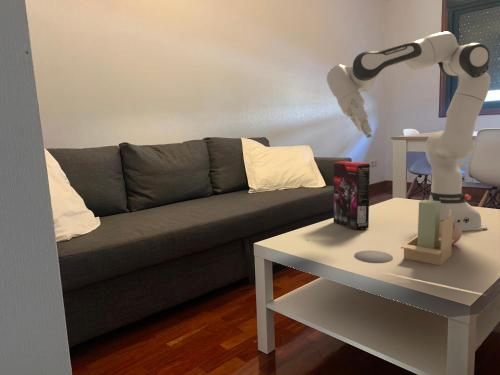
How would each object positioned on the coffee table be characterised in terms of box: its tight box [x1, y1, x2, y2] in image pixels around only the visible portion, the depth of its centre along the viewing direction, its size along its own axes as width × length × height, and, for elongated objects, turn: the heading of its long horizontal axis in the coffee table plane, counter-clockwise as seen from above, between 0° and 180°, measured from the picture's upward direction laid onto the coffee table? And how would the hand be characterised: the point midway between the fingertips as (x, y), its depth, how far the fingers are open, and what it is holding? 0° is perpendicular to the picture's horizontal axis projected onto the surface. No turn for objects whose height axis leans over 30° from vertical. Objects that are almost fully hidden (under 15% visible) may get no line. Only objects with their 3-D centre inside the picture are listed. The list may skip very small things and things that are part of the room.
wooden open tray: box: [400, 214, 454, 266], centre depth 126 cm, size 11×17×14 cm, turn 139°
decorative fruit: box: [439, 220, 463, 245], centre depth 138 cm, size 9×8×10 cm
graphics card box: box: [333, 160, 371, 231], centre depth 168 cm, size 17×7×27 cm, turn 23°
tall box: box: [417, 199, 441, 250], centre depth 126 cm, size 5×5×18 cm
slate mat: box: [354, 250, 394, 264], centre depth 129 cm, size 12×12×1 cm
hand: (370, 135), depth 149 cm, fingers open, 8 cm apart
